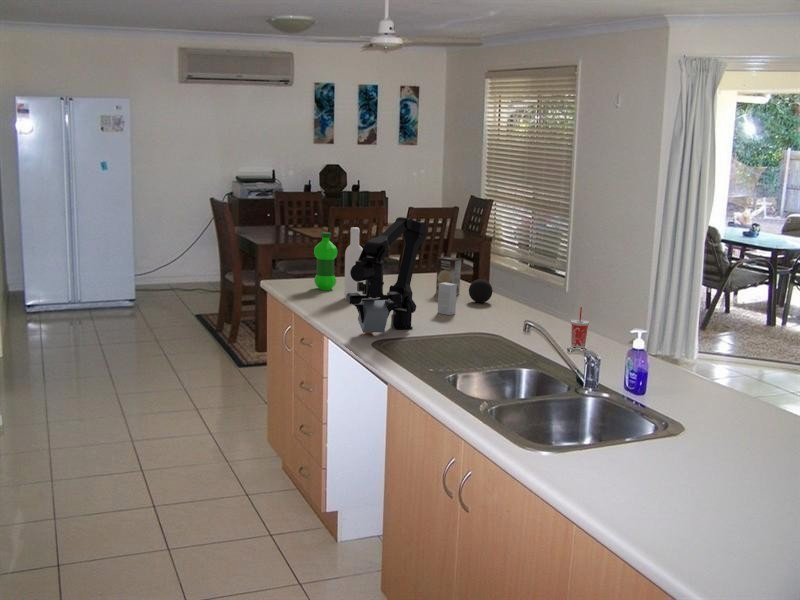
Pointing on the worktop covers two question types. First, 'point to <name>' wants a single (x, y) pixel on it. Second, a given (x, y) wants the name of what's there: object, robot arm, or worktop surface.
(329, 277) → the plastic bottle
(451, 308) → the skincare box
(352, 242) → the bottle
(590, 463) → the worktop surface
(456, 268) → the coffee box
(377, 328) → the grey block
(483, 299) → the speaker
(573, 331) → the beverage cup
